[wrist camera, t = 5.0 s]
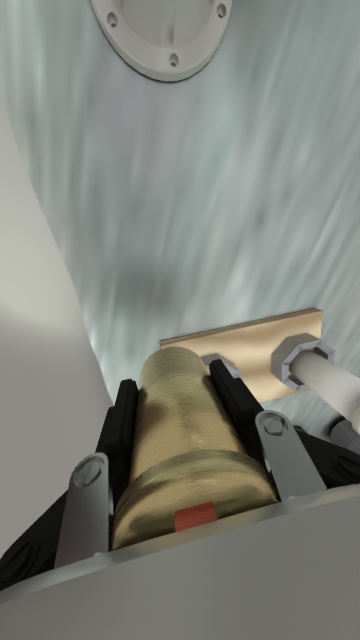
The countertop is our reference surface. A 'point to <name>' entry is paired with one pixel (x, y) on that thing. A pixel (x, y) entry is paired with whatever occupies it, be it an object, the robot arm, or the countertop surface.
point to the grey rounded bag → (346, 436)
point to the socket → (228, 364)
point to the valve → (184, 455)
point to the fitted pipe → (317, 374)
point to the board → (254, 347)
